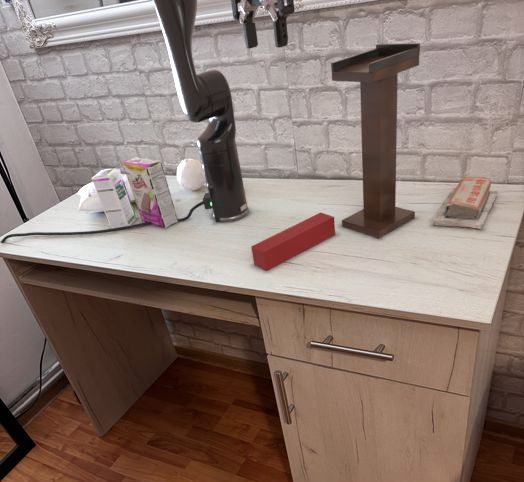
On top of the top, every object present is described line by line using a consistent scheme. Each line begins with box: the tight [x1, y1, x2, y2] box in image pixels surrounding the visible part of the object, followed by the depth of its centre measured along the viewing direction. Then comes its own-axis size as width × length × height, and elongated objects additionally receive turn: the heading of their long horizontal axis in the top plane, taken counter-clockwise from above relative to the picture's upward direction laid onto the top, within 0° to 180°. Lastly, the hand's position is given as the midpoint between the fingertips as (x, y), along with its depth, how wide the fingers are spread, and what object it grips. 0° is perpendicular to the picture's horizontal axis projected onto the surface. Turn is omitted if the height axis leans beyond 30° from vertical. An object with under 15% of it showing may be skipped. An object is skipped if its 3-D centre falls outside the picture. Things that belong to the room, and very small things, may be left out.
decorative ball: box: [175, 157, 206, 192], centre depth 144 cm, size 9×10×12 cm
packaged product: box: [433, 176, 499, 230], centre depth 105 cm, size 18×5×10 cm
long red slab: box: [250, 212, 336, 272], centre depth 104 cm, size 20×4×4 cm, turn 128°
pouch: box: [77, 174, 136, 214], centre depth 144 cm, size 8×19×20 cm
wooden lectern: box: [330, 42, 421, 240], centre depth 98 cm, size 13×11×34 cm
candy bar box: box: [122, 156, 179, 229], centre depth 125 cm, size 11×5×16 cm, turn 47°
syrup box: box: [90, 167, 138, 229], centre depth 129 cm, size 6×6×14 cm
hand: (266, 47), depth 85 cm, fingers open, 8 cm apart
